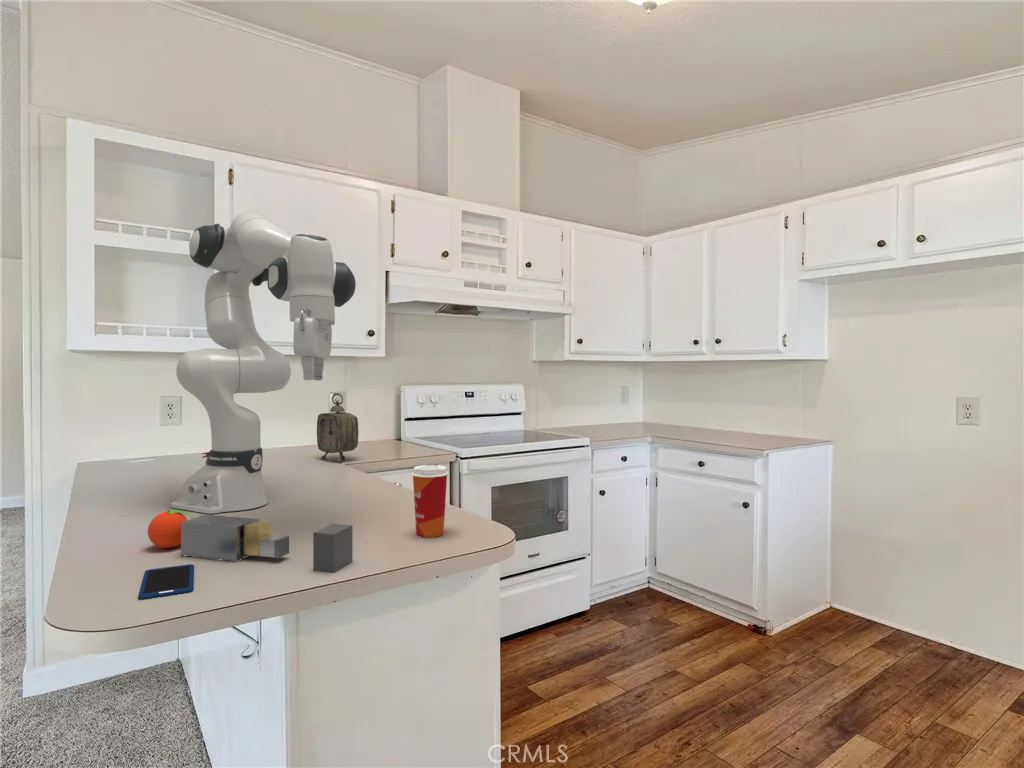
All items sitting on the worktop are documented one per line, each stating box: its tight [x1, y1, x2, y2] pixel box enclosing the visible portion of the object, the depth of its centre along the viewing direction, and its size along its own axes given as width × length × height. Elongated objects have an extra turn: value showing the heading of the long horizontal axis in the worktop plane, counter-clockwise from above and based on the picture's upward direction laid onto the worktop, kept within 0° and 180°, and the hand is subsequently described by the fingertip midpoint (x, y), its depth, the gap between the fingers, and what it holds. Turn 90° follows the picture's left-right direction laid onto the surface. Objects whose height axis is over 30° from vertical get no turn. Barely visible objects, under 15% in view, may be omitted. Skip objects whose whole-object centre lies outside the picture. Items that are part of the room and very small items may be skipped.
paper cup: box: [411, 464, 449, 538], centre depth 123 cm, size 8×8×14 cm
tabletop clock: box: [316, 392, 359, 464], centre depth 218 cm, size 14×9×25 cm, turn 49°
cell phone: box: [137, 563, 195, 601], centre depth 95 cm, size 7×14×1 cm, turn 28°
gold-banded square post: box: [240, 520, 290, 559], centre depth 108 cm, size 19×3×5 cm, turn 75°
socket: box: [312, 523, 353, 573], centre depth 103 cm, size 4×6×6 cm, turn 165°
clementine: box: [147, 510, 194, 549], centre depth 114 cm, size 8×7×7 cm
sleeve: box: [180, 514, 260, 562], centre depth 109 cm, size 12×6×6 cm, turn 75°
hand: (313, 380), depth 122 cm, fingers open, 8 cm apart
